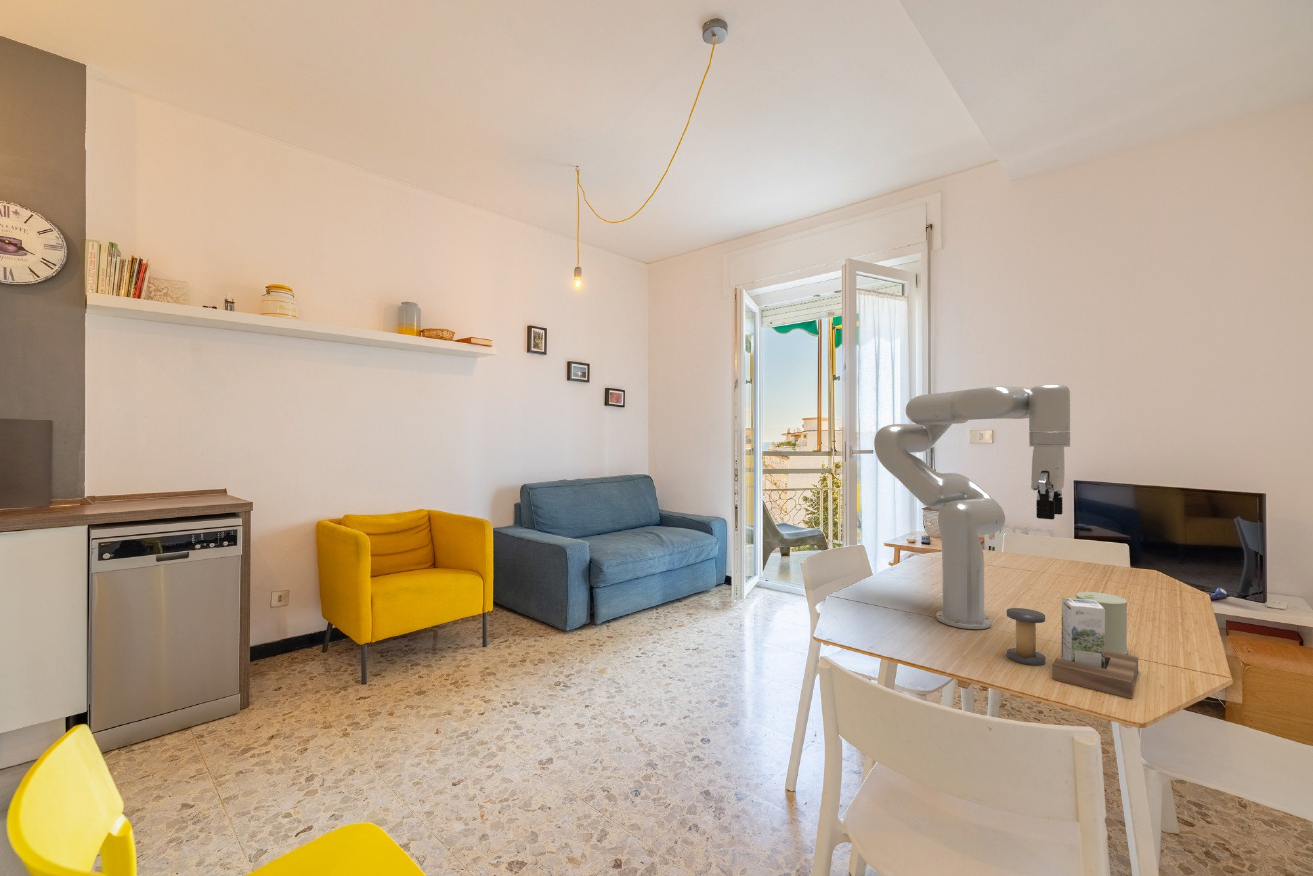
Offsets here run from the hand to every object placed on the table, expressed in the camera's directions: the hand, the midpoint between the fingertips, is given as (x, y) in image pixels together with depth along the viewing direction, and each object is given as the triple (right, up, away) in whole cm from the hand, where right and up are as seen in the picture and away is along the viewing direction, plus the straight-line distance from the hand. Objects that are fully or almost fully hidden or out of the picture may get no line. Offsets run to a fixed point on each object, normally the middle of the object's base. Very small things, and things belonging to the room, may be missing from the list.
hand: (1049, 516), depth 125 cm
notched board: (0, -30, -13) cm, 33 cm away
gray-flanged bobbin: (-8, -30, -4) cm, 32 cm away
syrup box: (-1, -31, -11) cm, 33 cm away
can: (+13, -30, +2) cm, 33 cm away
